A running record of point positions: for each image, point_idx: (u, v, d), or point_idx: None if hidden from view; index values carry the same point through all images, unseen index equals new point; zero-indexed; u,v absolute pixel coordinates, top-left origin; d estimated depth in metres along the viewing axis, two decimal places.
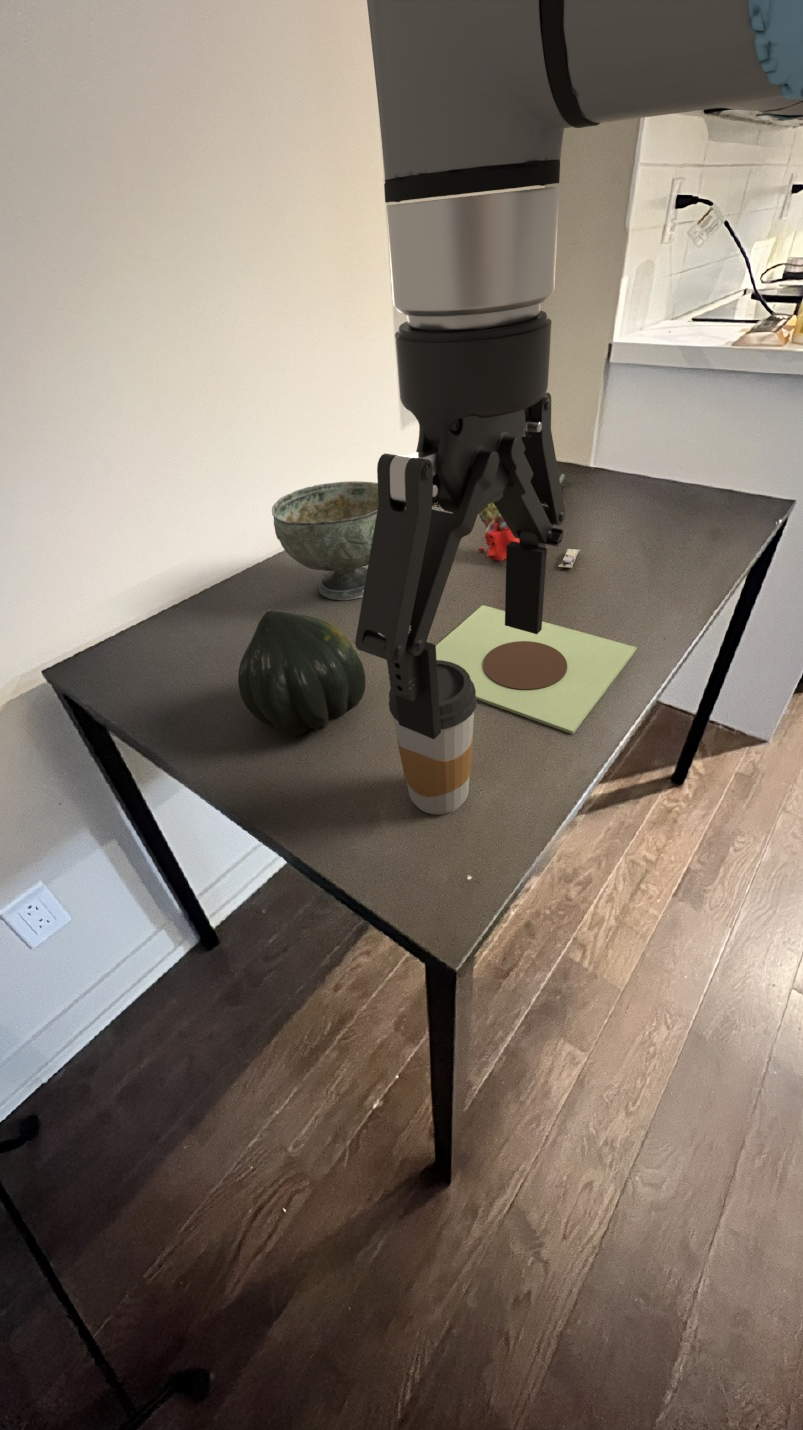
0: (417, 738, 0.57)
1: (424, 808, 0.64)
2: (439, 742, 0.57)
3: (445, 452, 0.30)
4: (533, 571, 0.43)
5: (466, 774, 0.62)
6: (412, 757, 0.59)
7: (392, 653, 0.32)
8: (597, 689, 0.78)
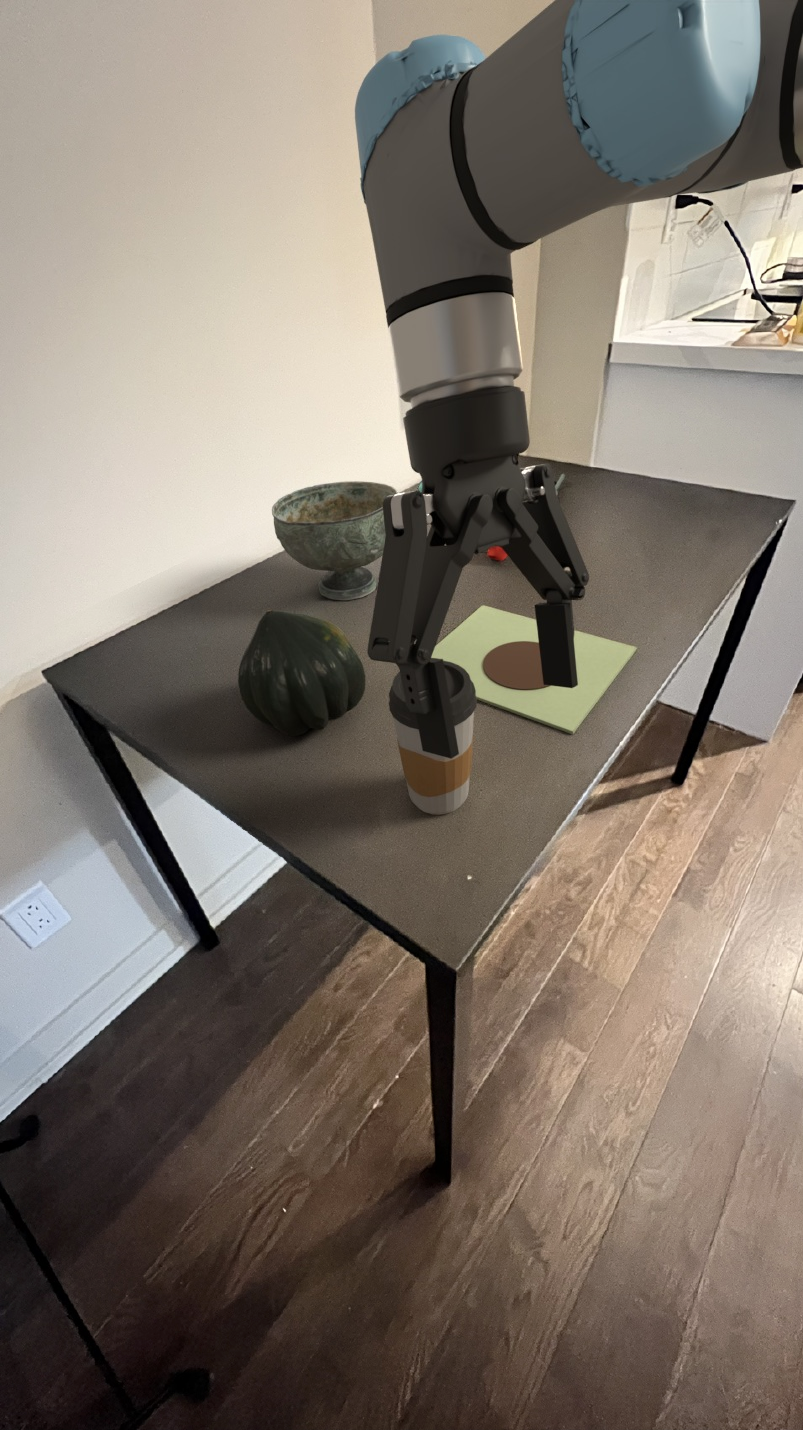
0: (417, 738, 0.57)
1: (424, 808, 0.64)
2: None
3: (439, 492, 0.37)
4: (560, 625, 0.47)
5: (466, 774, 0.62)
6: (412, 757, 0.59)
7: (394, 653, 0.36)
8: (597, 689, 0.78)
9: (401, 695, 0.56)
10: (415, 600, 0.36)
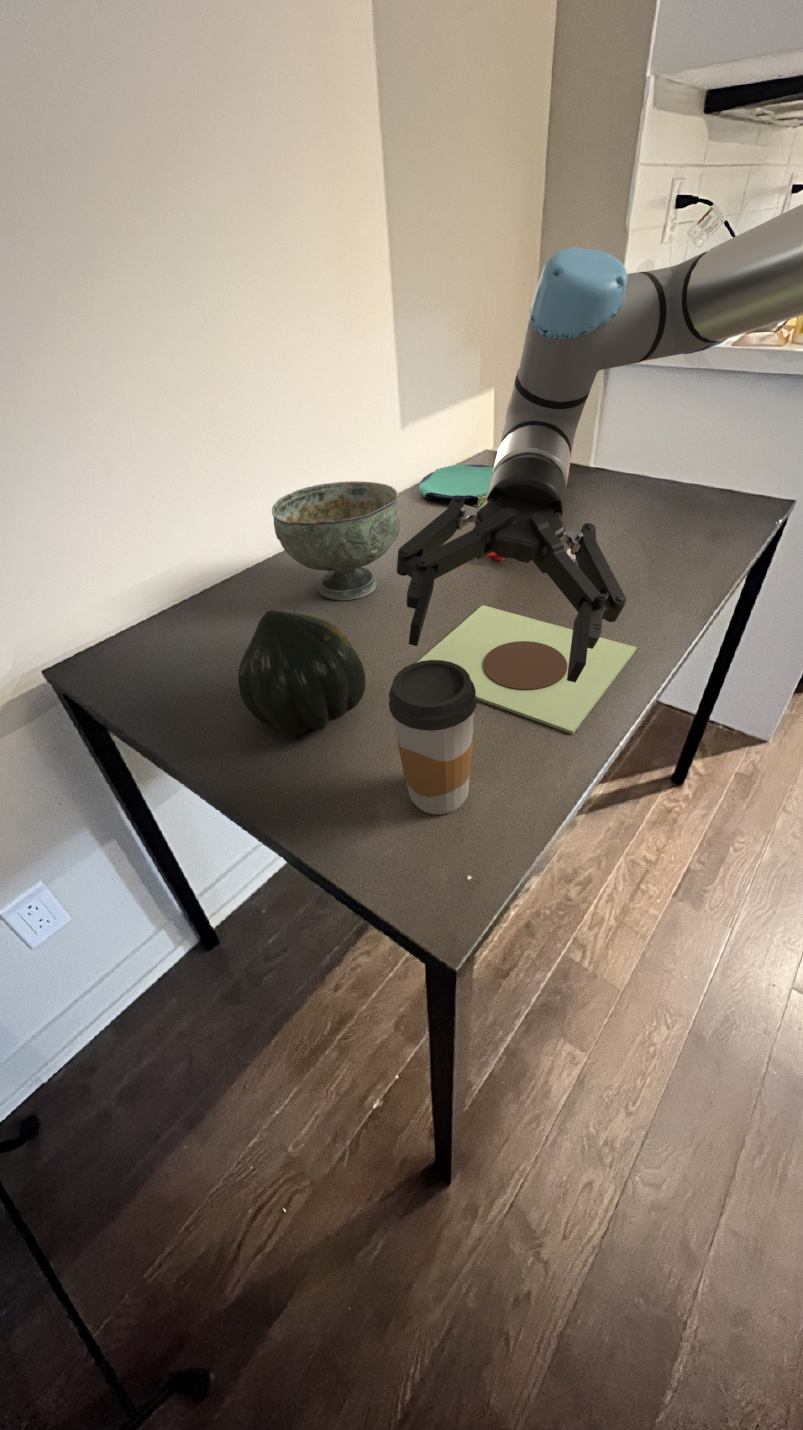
0: (417, 738, 0.57)
1: (424, 808, 0.64)
2: (439, 742, 0.57)
3: (481, 506, 0.59)
4: (579, 618, 0.53)
5: (466, 774, 0.62)
6: (412, 757, 0.59)
7: (400, 549, 0.55)
8: (597, 689, 0.78)
9: (401, 695, 0.56)
10: (431, 535, 0.56)
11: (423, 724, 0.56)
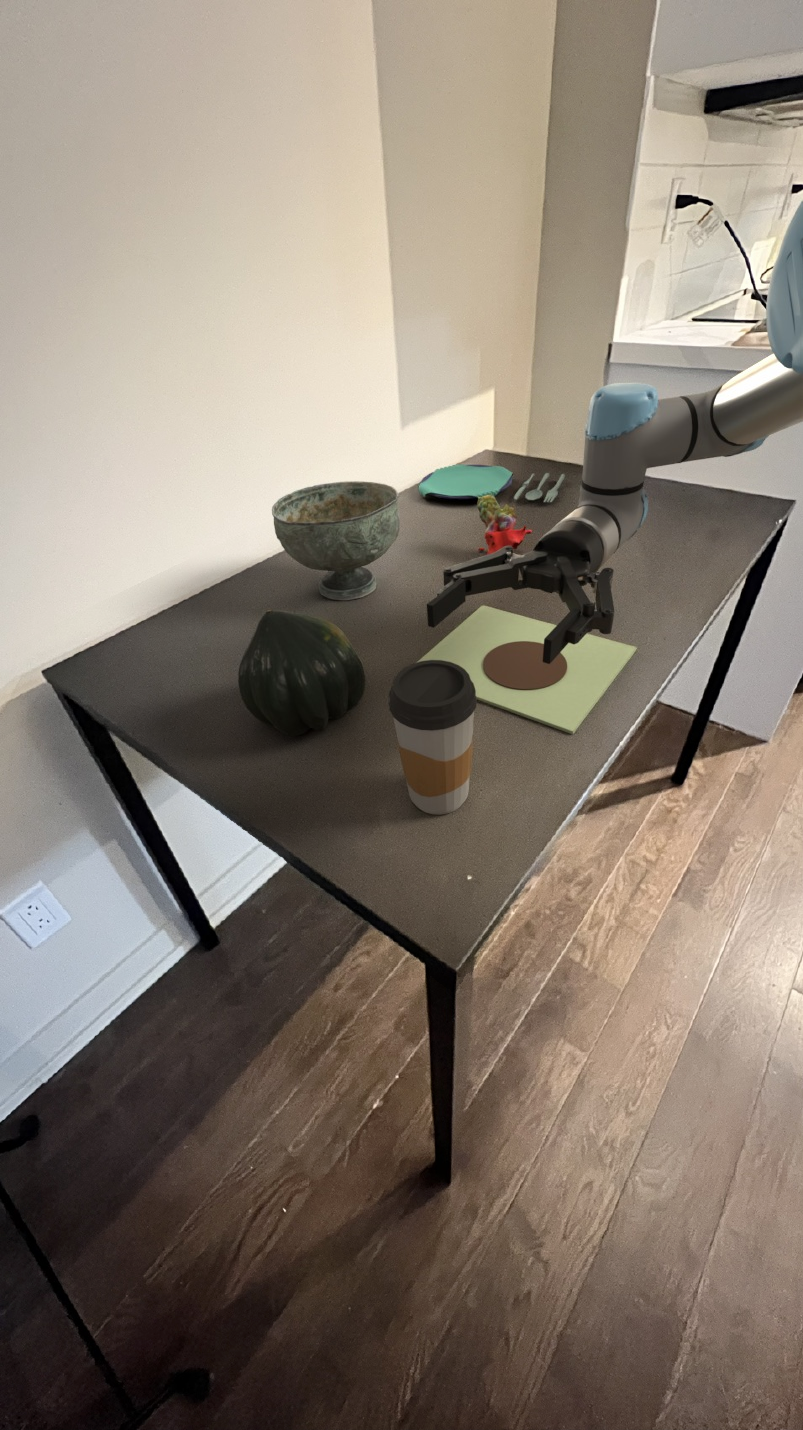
0: (417, 738, 0.57)
1: (424, 808, 0.64)
2: (439, 742, 0.57)
3: None
4: None
5: (466, 774, 0.62)
6: (412, 757, 0.59)
7: (445, 568, 0.72)
8: (597, 689, 0.78)
9: (401, 695, 0.56)
10: (474, 563, 0.72)
11: (423, 724, 0.56)
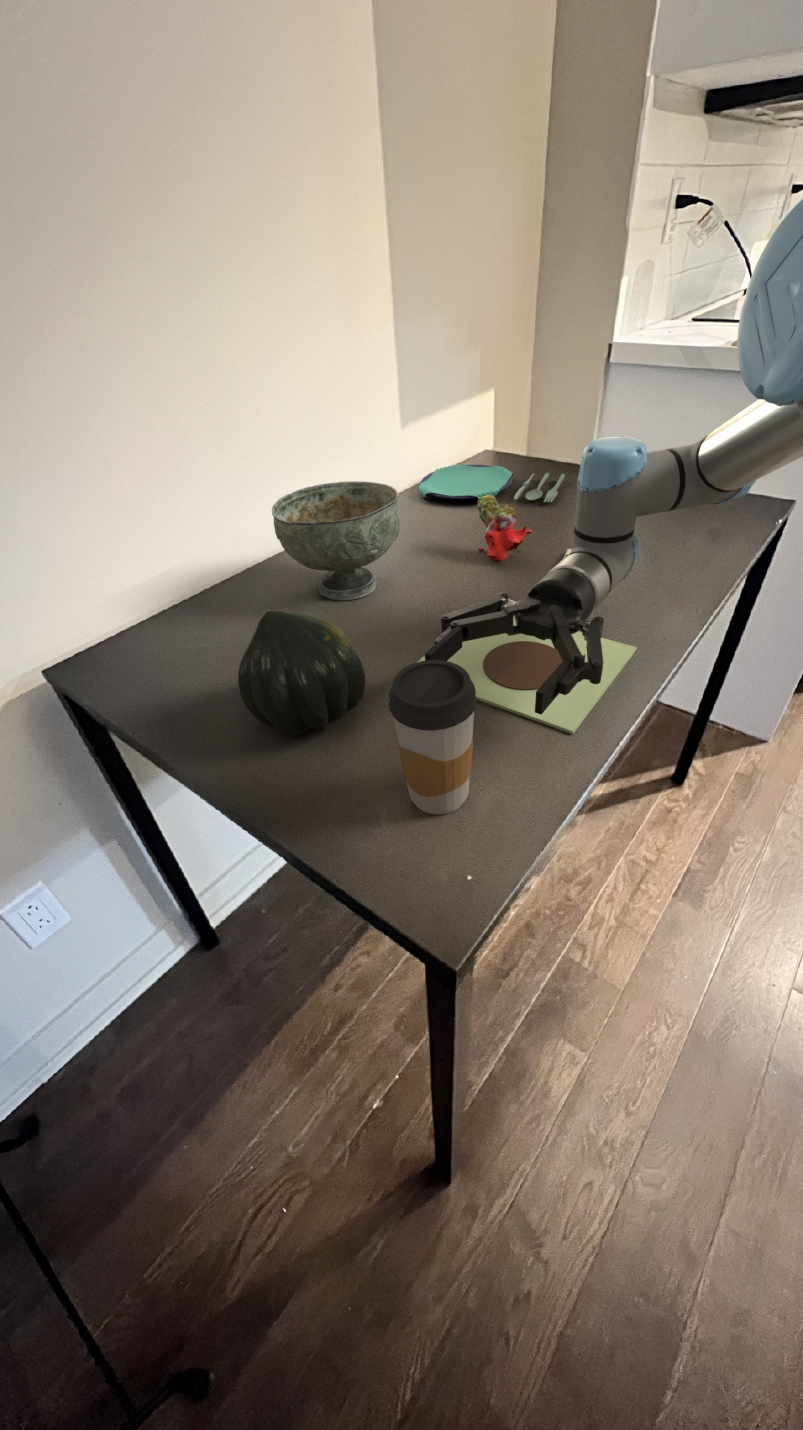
0: (417, 738, 0.57)
1: (424, 808, 0.64)
2: (439, 742, 0.57)
3: None
4: None
5: (466, 774, 0.62)
6: (412, 757, 0.59)
7: (443, 615, 0.75)
8: (597, 689, 0.78)
9: (401, 695, 0.56)
10: (470, 610, 0.76)
11: (423, 724, 0.56)
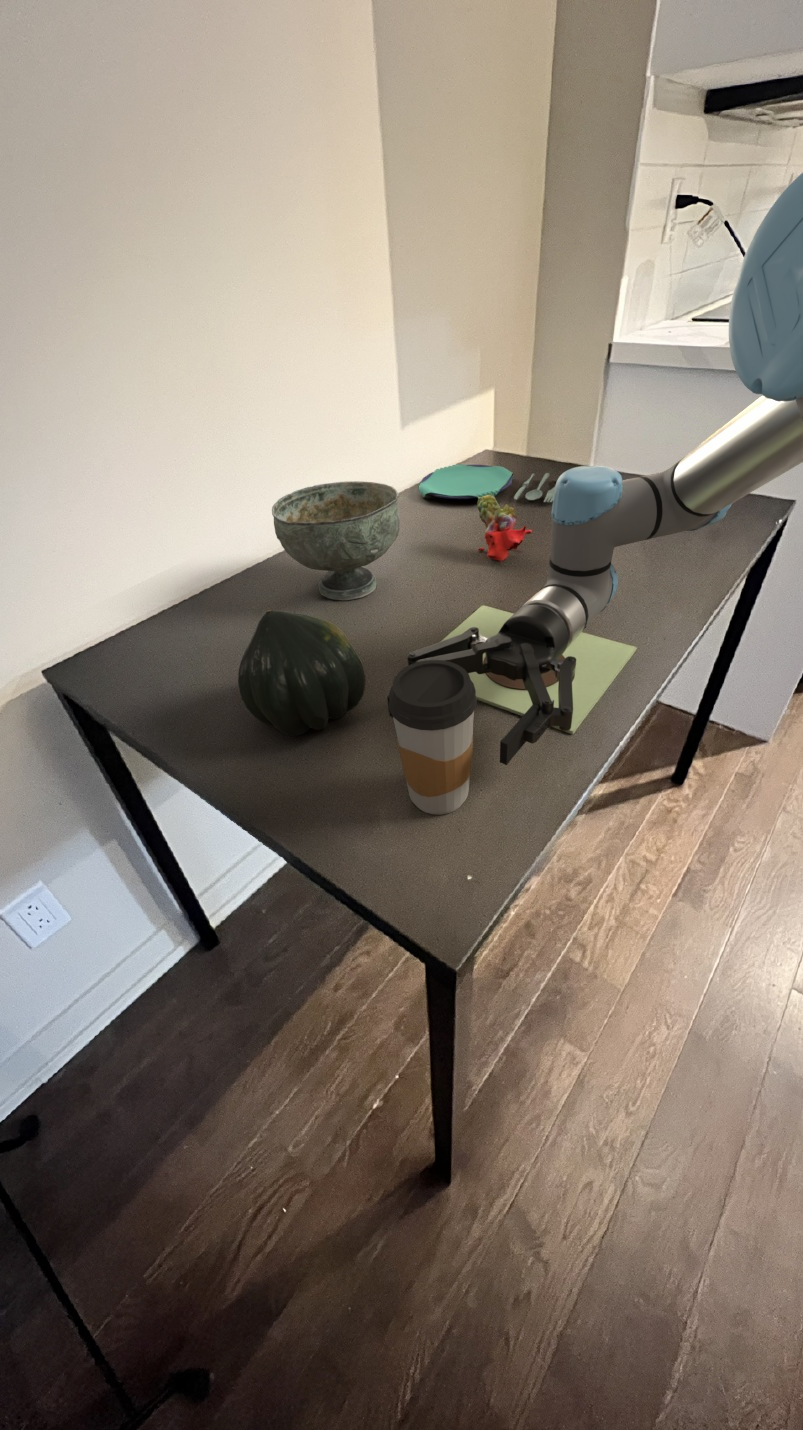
0: (417, 738, 0.57)
1: (424, 808, 0.64)
2: (439, 742, 0.57)
3: None
4: None
5: (466, 774, 0.62)
6: (412, 757, 0.59)
7: (410, 653, 0.72)
8: (597, 689, 0.78)
9: (401, 695, 0.56)
10: (438, 648, 0.72)
11: (423, 724, 0.56)
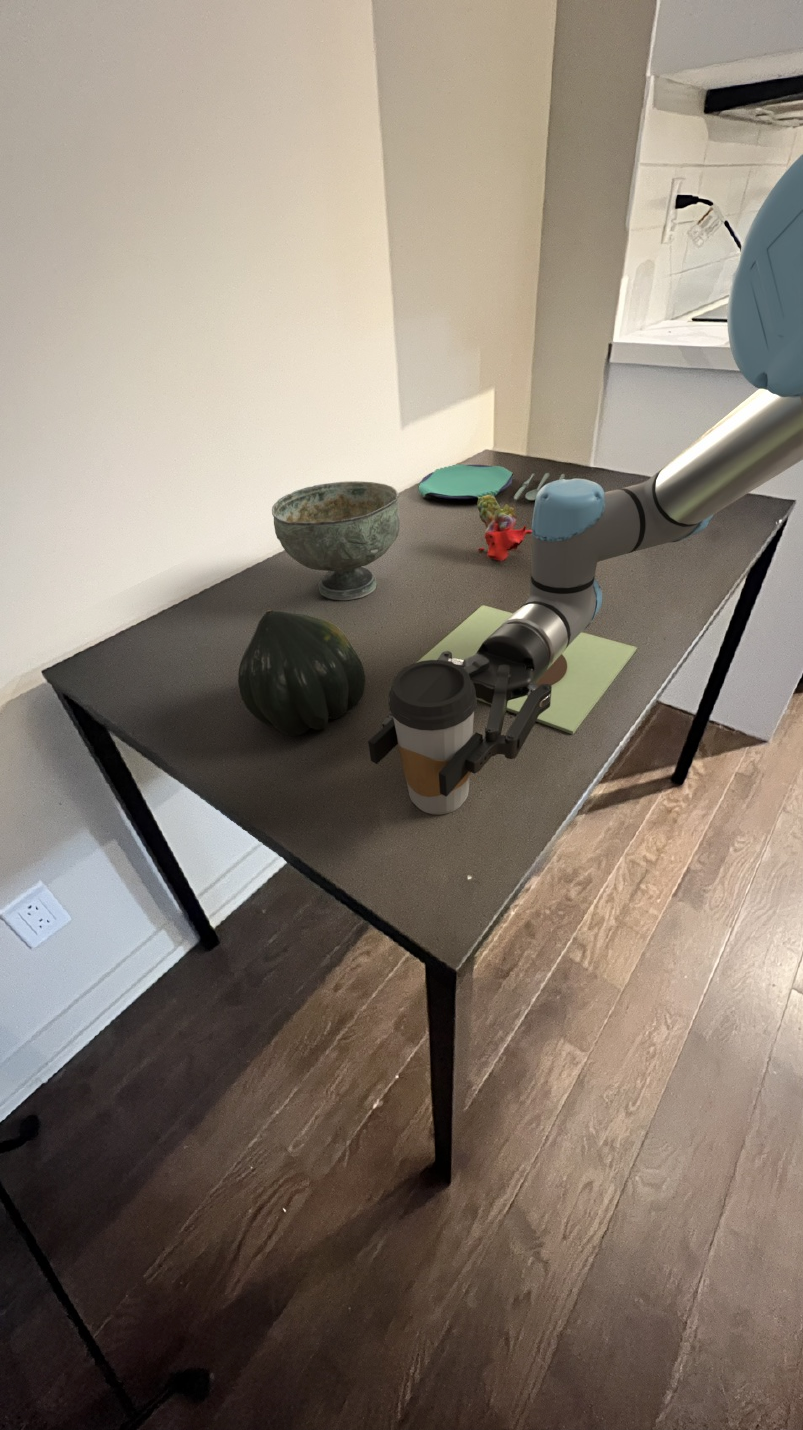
0: (417, 738, 0.57)
1: (424, 808, 0.64)
2: (439, 742, 0.57)
3: None
4: None
5: (466, 774, 0.62)
6: (412, 757, 0.59)
7: None
8: (597, 689, 0.78)
9: (401, 695, 0.56)
10: None
11: (423, 724, 0.56)
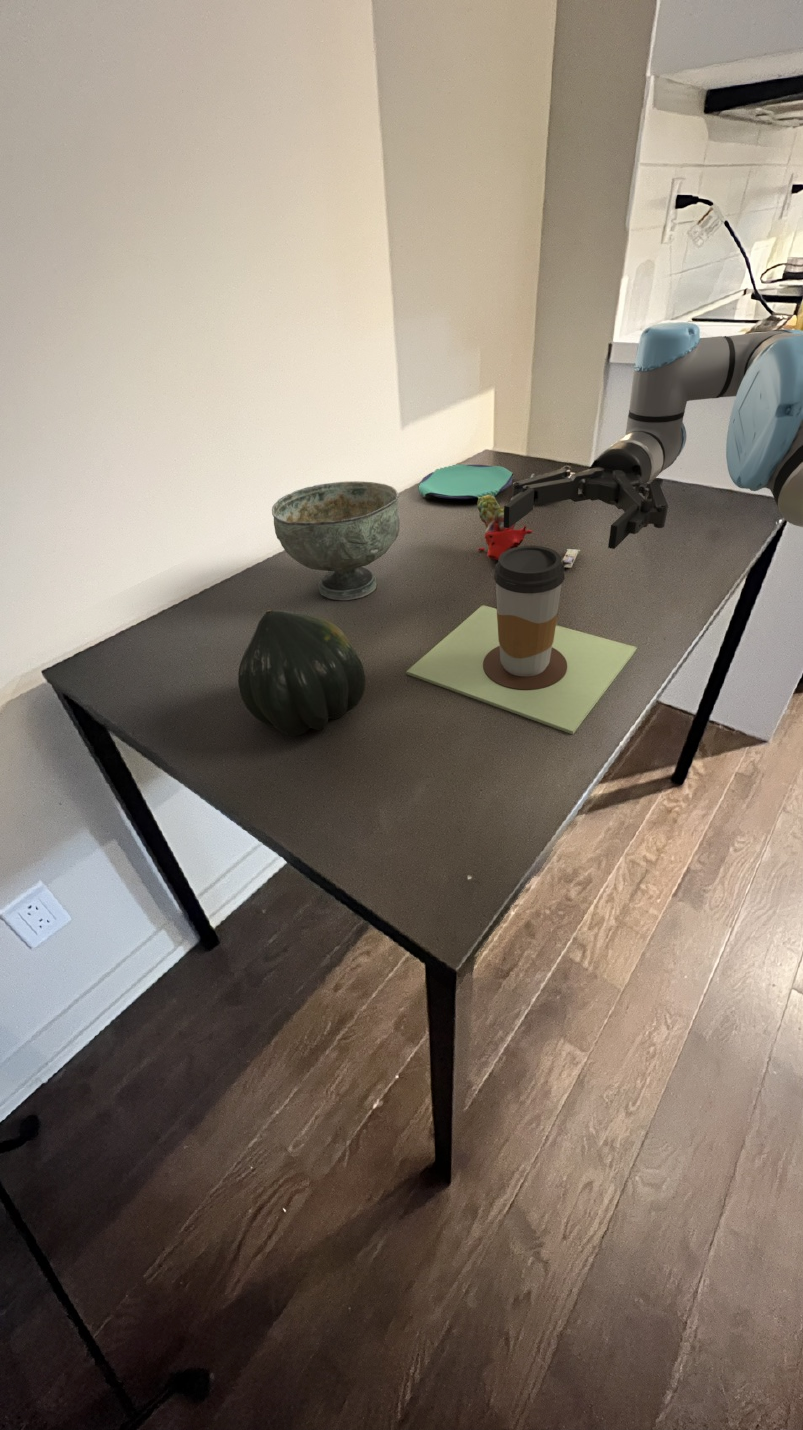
0: (519, 602, 0.73)
1: (515, 670, 0.80)
2: (536, 605, 0.73)
3: None
4: None
5: (551, 639, 0.78)
6: (512, 621, 0.75)
7: (514, 482, 0.83)
8: (597, 689, 0.78)
9: (507, 567, 0.72)
10: (539, 478, 0.83)
11: (526, 588, 0.71)
